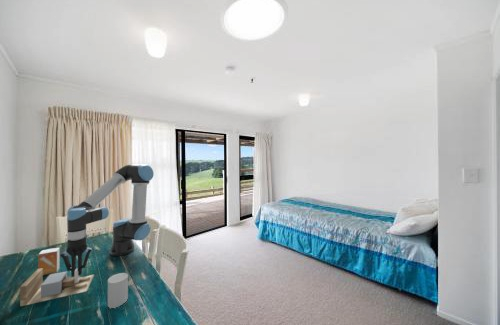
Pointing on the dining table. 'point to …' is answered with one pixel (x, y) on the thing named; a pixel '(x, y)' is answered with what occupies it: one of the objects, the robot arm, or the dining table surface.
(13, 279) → the dining table surface
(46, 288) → the carriage
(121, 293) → the light gray cylinder
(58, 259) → the small box
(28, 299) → the jig
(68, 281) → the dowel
